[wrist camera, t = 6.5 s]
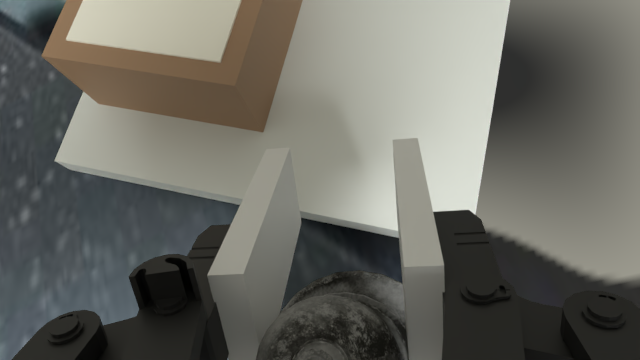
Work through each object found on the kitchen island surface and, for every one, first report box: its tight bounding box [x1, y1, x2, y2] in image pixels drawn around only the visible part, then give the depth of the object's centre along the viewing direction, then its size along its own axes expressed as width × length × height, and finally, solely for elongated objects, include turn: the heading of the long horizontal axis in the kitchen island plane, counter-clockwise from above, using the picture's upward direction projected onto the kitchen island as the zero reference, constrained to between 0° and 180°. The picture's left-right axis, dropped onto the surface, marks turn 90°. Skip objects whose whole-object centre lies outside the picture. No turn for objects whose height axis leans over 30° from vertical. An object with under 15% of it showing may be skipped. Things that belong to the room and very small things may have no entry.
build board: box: [42, 0, 510, 238], centre depth 21 cm, size 18×12×5 cm, turn 76°
